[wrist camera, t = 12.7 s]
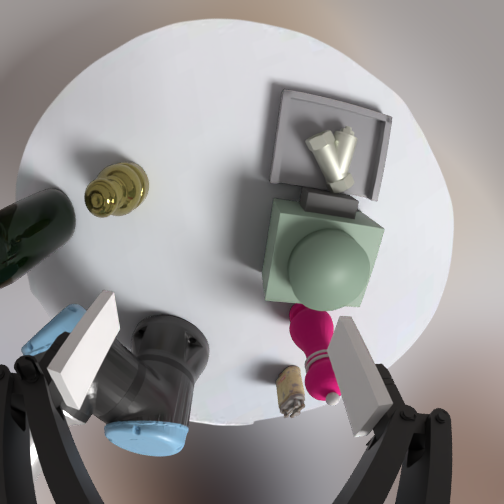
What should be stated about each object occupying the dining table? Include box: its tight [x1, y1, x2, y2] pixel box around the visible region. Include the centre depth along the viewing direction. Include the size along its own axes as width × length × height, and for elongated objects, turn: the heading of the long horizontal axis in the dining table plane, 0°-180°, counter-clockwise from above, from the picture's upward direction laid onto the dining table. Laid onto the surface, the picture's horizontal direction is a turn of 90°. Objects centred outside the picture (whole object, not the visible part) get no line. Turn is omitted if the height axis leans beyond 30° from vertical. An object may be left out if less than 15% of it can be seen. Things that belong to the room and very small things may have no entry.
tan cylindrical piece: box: [276, 366, 305, 418], centre depth 49 cm, size 7×4×10 cm, turn 156°
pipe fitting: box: [305, 126, 358, 194], centre depth 34 cm, size 8×4×7 cm
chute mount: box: [269, 89, 392, 201], centre depth 35 cm, size 13×16×2 cm
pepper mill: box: [289, 303, 341, 405], centre depth 38 cm, size 7×7×20 cm
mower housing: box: [262, 187, 384, 311], centre depth 36 cm, size 14×14×11 cm
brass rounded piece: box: [84, 162, 149, 218], centre depth 33 cm, size 7×7×10 cm
